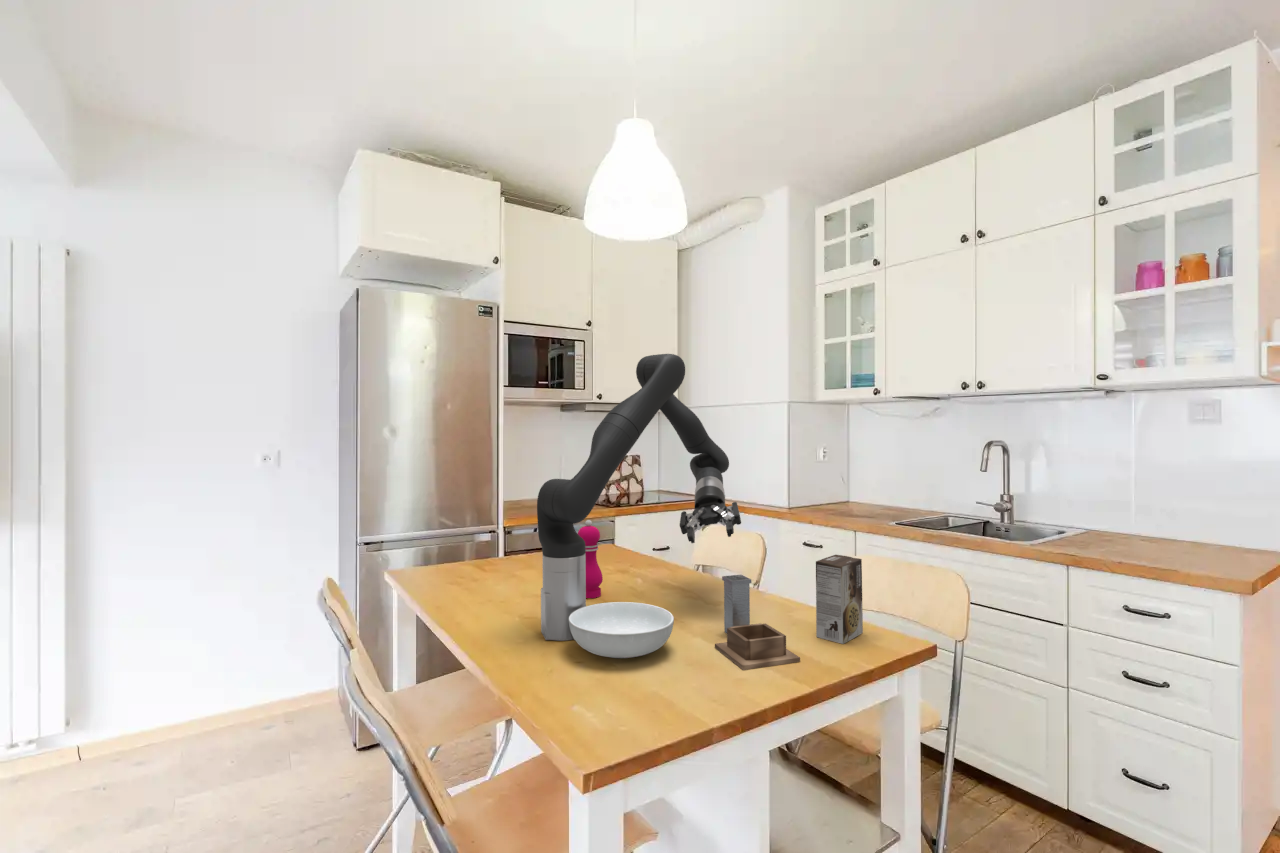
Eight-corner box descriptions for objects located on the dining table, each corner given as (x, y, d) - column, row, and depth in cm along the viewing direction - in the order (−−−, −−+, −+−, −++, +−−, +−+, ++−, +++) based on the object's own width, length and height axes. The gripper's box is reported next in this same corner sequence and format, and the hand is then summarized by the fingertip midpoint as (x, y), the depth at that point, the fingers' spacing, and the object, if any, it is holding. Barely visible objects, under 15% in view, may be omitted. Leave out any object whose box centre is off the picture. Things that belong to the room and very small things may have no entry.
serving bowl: (642, 679, 108) (641, 640, 108) (547, 658, 118) (547, 622, 118) (691, 642, 126) (691, 609, 126) (605, 627, 136) (605, 596, 136)
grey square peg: (732, 638, 128) (731, 581, 128) (722, 631, 132) (722, 576, 132) (751, 636, 129) (751, 579, 129) (741, 629, 134) (741, 574, 134)
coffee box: (835, 627, 135) (835, 553, 135) (863, 633, 130) (863, 558, 130) (814, 637, 129) (814, 560, 129) (843, 644, 124) (843, 565, 124)
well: (742, 669, 111) (742, 645, 111) (714, 647, 123) (714, 625, 123) (800, 661, 115) (800, 638, 115) (767, 640, 126) (767, 619, 126)
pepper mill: (601, 599, 158) (601, 521, 158) (573, 599, 158) (573, 522, 158) (603, 591, 165) (603, 517, 165) (577, 591, 166) (576, 518, 166)
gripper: (678, 490, 153) (675, 529, 139) (734, 479, 150) (737, 518, 136) (685, 514, 156) (684, 555, 142) (741, 504, 153) (744, 544, 139)
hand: (710, 537), depth 139 cm, fingers open, 8 cm apart
